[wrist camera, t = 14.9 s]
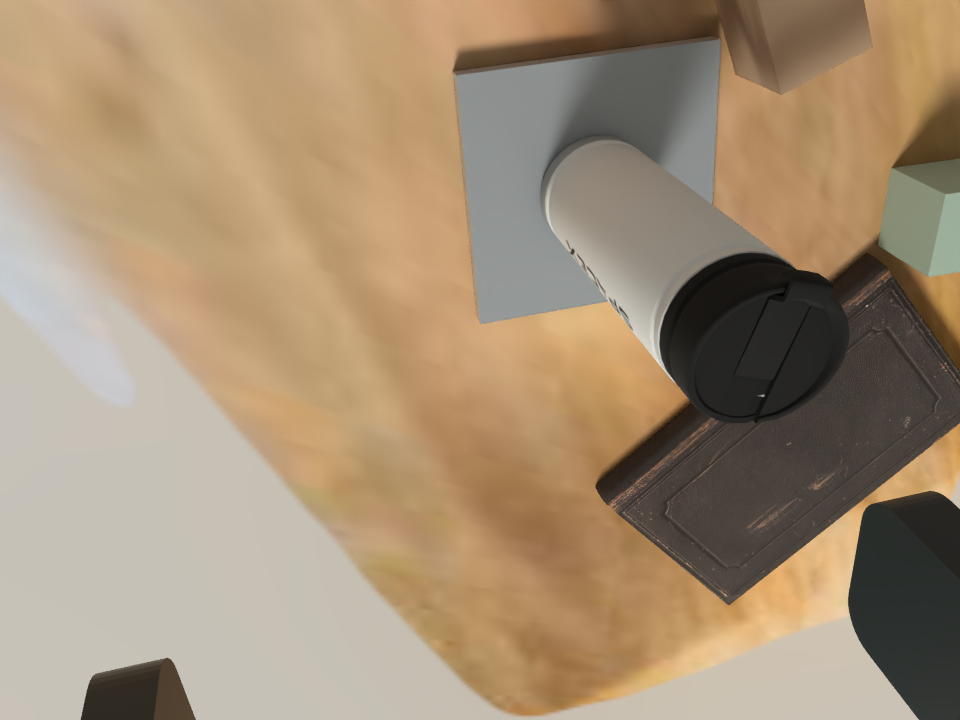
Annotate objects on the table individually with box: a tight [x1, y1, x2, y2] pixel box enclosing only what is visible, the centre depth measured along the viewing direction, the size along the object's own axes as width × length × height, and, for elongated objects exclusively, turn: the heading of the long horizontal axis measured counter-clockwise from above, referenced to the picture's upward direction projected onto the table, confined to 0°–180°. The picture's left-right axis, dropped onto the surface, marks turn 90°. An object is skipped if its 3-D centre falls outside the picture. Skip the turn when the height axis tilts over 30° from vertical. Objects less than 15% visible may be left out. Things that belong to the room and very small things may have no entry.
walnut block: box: [715, 0, 873, 95], centre depth 44 cm, size 5×5×5 cm
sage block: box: [878, 158, 960, 277], centre depth 52 cm, size 5×5×5 cm
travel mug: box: [540, 135, 850, 423], centre depth 39 cm, size 6×7×20 cm
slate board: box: [453, 36, 721, 324], centre depth 48 cm, size 14×14×1 cm
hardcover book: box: [596, 254, 960, 605], centre depth 61 cm, size 16×23×2 cm
